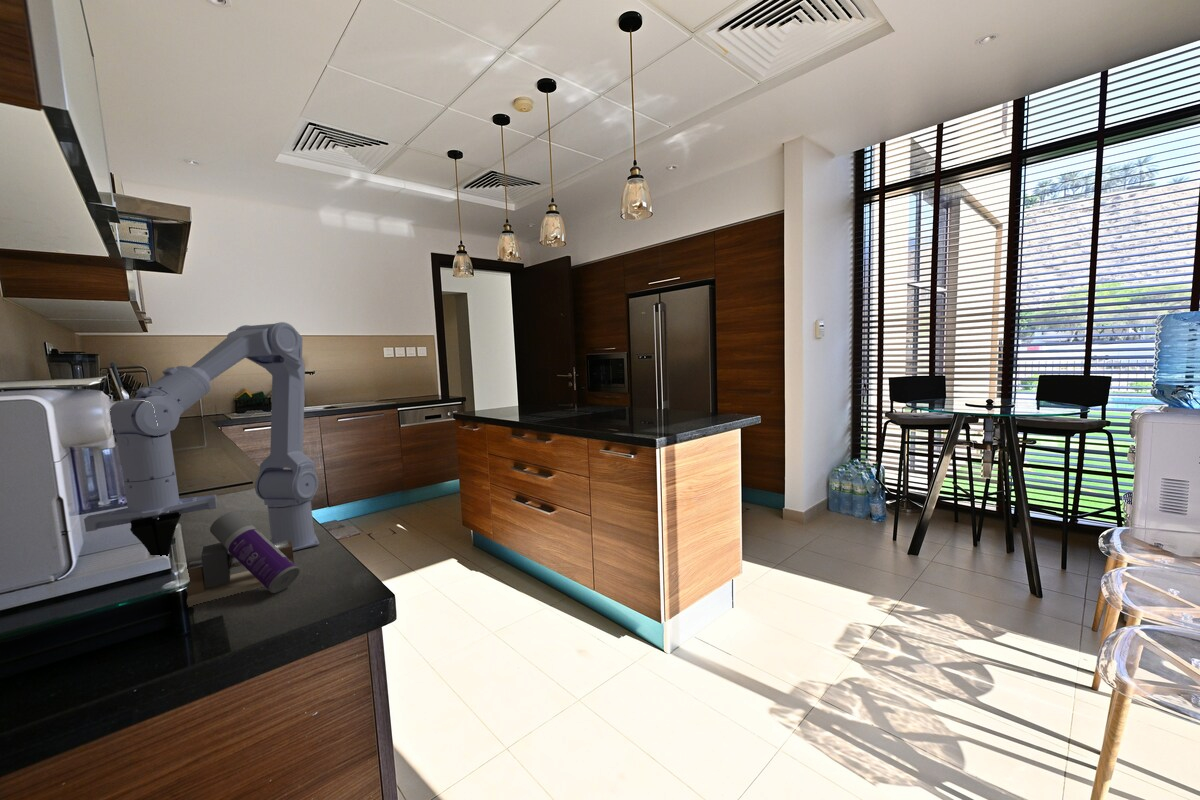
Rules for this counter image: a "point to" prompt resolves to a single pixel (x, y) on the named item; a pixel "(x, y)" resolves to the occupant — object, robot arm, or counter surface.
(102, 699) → the counter surface
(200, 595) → the base board
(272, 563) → the container
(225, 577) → the upright grey rectangular block
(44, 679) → the counter surface
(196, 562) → the dark long bar
